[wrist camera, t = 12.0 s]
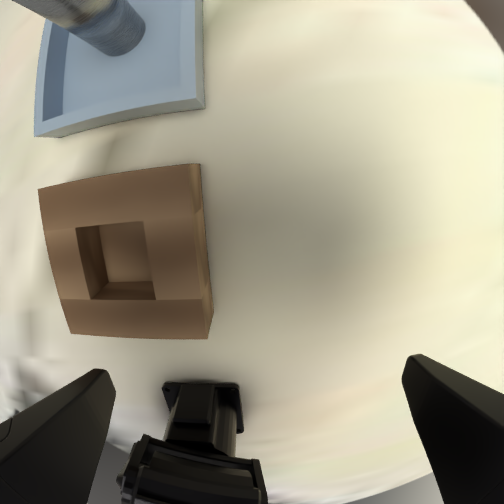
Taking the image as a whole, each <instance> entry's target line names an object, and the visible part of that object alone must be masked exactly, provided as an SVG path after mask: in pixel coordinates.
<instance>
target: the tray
mask: <svg viewBox="0 0 504 504" xmlns="http://www.w3.org/2000/svg"><path fill="white" fill-rule="evenodd" d="M127 1H128V2H129V3H130V5H131V6H132V7H133V8H134V9H135V10H136V12H137V13H138V14H139V15H140V16H141V18H142V19H143V20H144V22H145V26H146V29H145V34H144V36H143V38H142V40H141V41H140V43H139V44H138V45H137V46H136V47H135V48H134V49H132V50H131V51H130V52H128V53H126V54H124V55H121V56H115V57H112V56H108V55H105V54H104V53H102V52H101V51H99V50H98V49H96V48H95V47H93V46H91V45H90V44H88V43H87V42H85V41H83V40H82V39H80V38H79V37H77V36H75V35H74V34H72V33H70V32H69V31H67V30H65V29H64V28H62V27H60V26H59V25H57V24H55V23H53V22H52V21H50V20H48V19H46V20H45V25H44V30H43V35H42V41H41V47H40V53H39V60H38V68H37V78H36V90H35V108H34V137H51V138H60V137H64V136H67V135H70V134H74V133H77V132H81V131H85V130H89V129H92V128H96V127H100V126H105V125H109V124H113V123H118V122H122V121H127V120H132V119H137V118H142V117H148V116H153V115H159V114H166V113H172V112H179V111H187V110H195V109H204V108H205V98H204V69H203V0H127Z"/></svg>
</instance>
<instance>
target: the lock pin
mask: <svg viewBox="0 0 504 504" xmlns="http://www.w3.org/2000/svg"><path fill="white" fill-rule="evenodd" d="M12 1H14V2H16V3H18V4H20V5H22V6H24V7H26V8H28V9H30V10H32V11H34V12H35V13H37V14H39V15H41V16H43V17H44V18H46V19H48V20H50V21H52V22H53V23H55V24H57V25H59V26H60V27H62V28H64V29H65V30H67V31H69V32H70V33H72V34H74V35H75V36H77V37H79V38H80V39H82V40H83V41H85V42H87V43H88V44H90V45H91V46H93V47H95V48H96V49H98V50H99V51H101V52H102V53H104V54H105V55H108V56H112V57H115V56H121V55H124V54H126V53H128V52H130V51H131V50H132V49H134V48H135V47H136V46H137V45H138V44H139V43H140V41H141V40H142V38H143V36H144V34H145V29H146V26H145V22H144V20H143V19H142V18H141V16H140V15H139V14H138V13H137V12H136V10H135V9H134V8H133V7H132V6H131V5H130V3H129V2H128V1H127V0H12Z"/></svg>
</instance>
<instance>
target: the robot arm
mask: <svg viewBox="0 0 504 504" xmlns="http://www.w3.org/2000/svg"><path fill="white" fill-rule="evenodd" d="M402 385H403V388H404V391H405V394H406V398H407V401H408V404H409V408H410V411H411V415H412V418H413V421H414V424H415V426H416V429H417V431H418V434H419V436H420V439H421V441H422V444H423V446H424V449H425V451H426V454H427V457H428V459H429V462H430V465H431V467H432V470H433V473H434V475H435V478H436V481H437V484H438V487H439V490H440V493H441V496H442V499H443V501H444V504H504V394H502V393H500V392H498V391H496V390H494V389H492V388H490V387H488V386H486V385H483V384H481V383H479V382H477V381H475V380H473V379H471V378H469V377H467V376H465V375H463V374H461V373H459V372H457V371H455V370H453V369H451V368H449V367H447V366H445V365H443V364H441V363H438V362H436V361H434V360H432V359H430V358H428V357H426V356H424V355H422V354H416V355H411V356H409V357H408V358H407V361H406V364H405V368H404V371H403V374H402ZM168 388H169V389H168ZM231 389H235V390H231ZM162 390H163V394H164V397H165V400H166V402H167V405H168V408H169V411H170V416H169V419H168V423H167V427H166V430H165V434H164V437H163V441H162V440H158V439H155V438H152V437H150V436H149V435H146V434H143V436H142V438H141V440H140V441H138V442H137V443H134V445H133V447H132V450H131V453H130V456H129V458H128V460H127V462H126V463H125V465H124V466H123V468H122V470H121V471H120V473H119V474H118V476H117V479H116V483H117V484H118V486H119V487H120V489H121V495H122V504H268V497H267V492H266V488H265V483H264V479H263V475H262V470H261V466H260V462H259V460H258V459H251V460H250V459H243V458H237V457H235V448H236V434H239V433H243V432H244V424H243V415H242V407H241V399H240V390H239V386H238V385H236V384H189V383H164V384H163V387H162ZM115 397H116V391H115V387H114V385H113V383H112V380H111V378H110V375H109V373H108V372H107V371H106V370H104V369H93V370H91V371H89V372H88V373H86V374H84V375H83V376H81V377H79V378H78V379H76V380H74V381H73V382H71V383H69V384H68V385H66V386H64V387H63V388H61V389H59V390H58V391H56V392H54V393H52V394H51V395H49V396H47V397H46V398H44V399H42V400H41V401H39V402H37V403H35V404H34V405H32V406H30V407H29V408H27V409H25V410H23V411H22V412H20V413H18V414H16V415H15V416H13V418H12V417H11V418H9V419H8V420H6V421H4V422H2V423H1V424H0V504H87V501H88V497H89V494H90V490H91V486H92V482H93V479H94V476H95V473H96V469H97V465H98V462H99V459H100V456H101V453H102V450H103V446H104V443H105V440H106V437H107V433H108V429H109V424H110V419H111V415H112V410H113V406H114V401H115Z"/></svg>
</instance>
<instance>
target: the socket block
mask: <svg viewBox="0 0 504 504" xmlns="http://www.w3.org/2000/svg"><path fill="white" fill-rule="evenodd" d="M38 195H39V203H40V211H41V217H42V224H43V230H44V235H45V241H46V246H47V251H48V255H49V260H50V264H51V268H52V272H53V276H54V280H55V284H56V288H57V291H58V295H59V298H60V302H61V305H62V308H63V311H64V315H65V318H66V321H67V324H68V327H69V330H70V332H71V334H81V335H93V336H107V337H123V338H146V339H208V334H209V330H210V326H211V321H212V317H213V313H214V309H213V301H212V292H211V283H210V274H209V265H208V255H207V245H206V235H205V224H204V212H203V200H202V187H201V173H200V164H182V165H173V166H165V167H157V168H149V169H142V170H135V171H128V172H122V173H116V174H110V175H104V176H98V177H93V178H88V179H82V180H77V181H72V182H68V183H63V184H58V185H54V186H49V187H45V188H41V189H38Z"/></svg>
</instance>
